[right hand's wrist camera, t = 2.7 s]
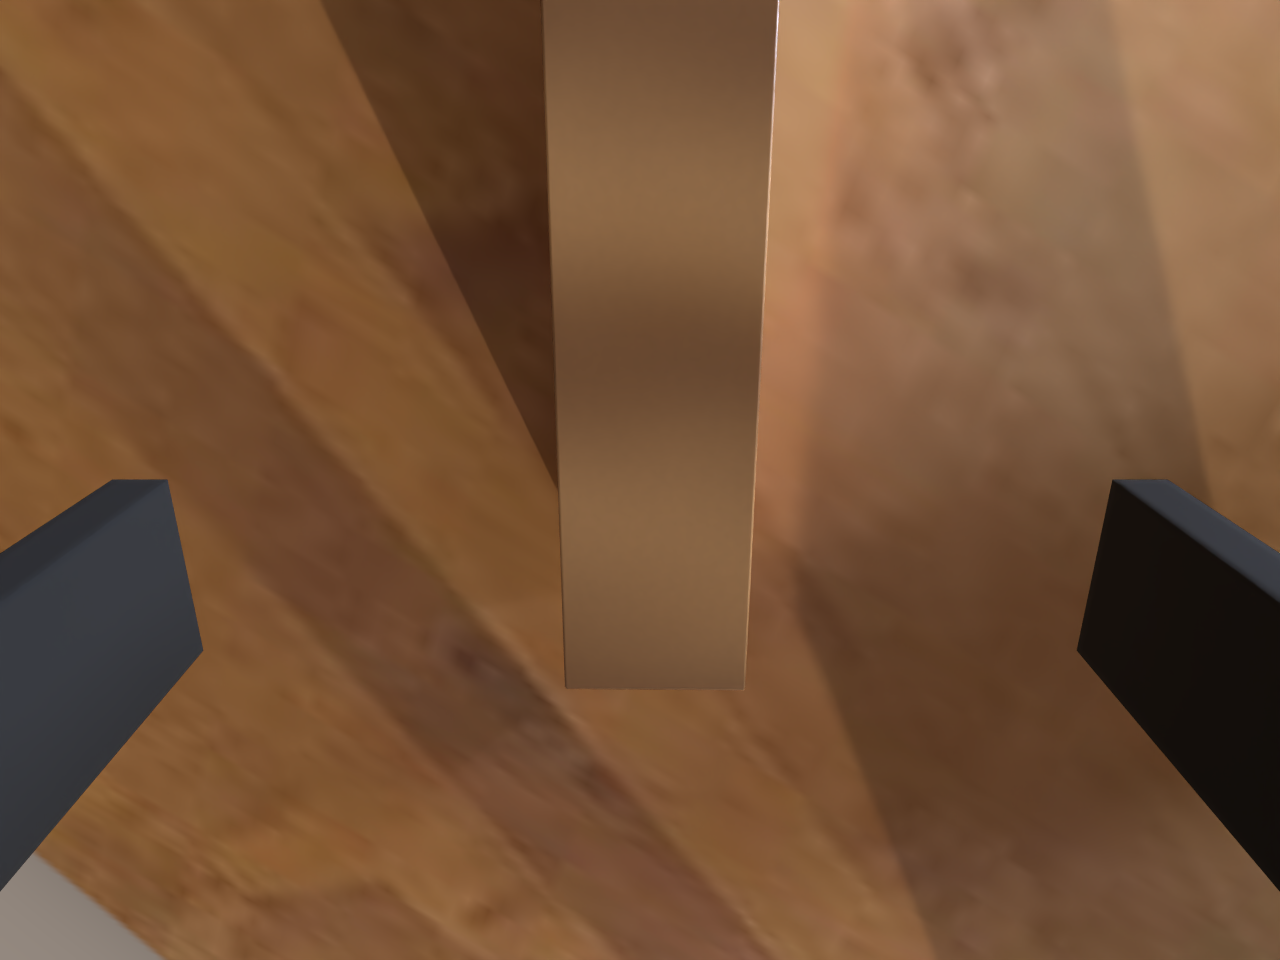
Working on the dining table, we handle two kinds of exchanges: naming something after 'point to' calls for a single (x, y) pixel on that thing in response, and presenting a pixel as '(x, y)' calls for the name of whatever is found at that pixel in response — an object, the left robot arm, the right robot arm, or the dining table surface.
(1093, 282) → the dining table surface
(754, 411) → the post
